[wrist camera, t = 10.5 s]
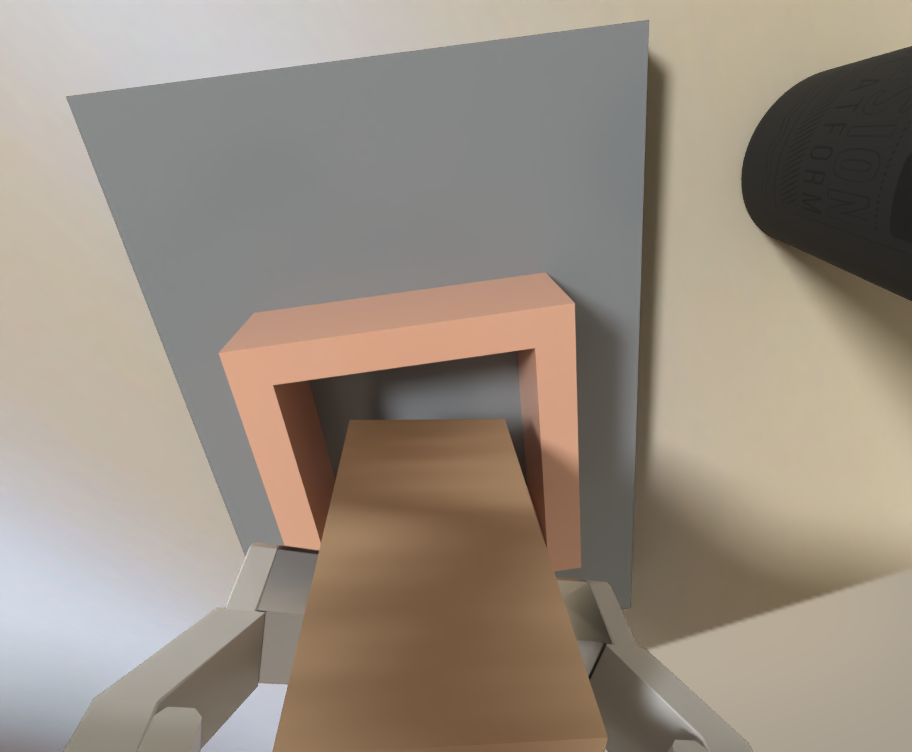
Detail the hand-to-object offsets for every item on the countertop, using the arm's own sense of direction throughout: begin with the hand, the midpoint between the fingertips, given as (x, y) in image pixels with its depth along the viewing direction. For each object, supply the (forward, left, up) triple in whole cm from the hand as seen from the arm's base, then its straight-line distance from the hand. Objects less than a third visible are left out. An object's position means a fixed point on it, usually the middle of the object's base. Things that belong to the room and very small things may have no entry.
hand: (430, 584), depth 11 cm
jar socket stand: (0, 0, -8) cm, 8 cm away
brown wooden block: (0, 0, -4) cm, 4 cm away
